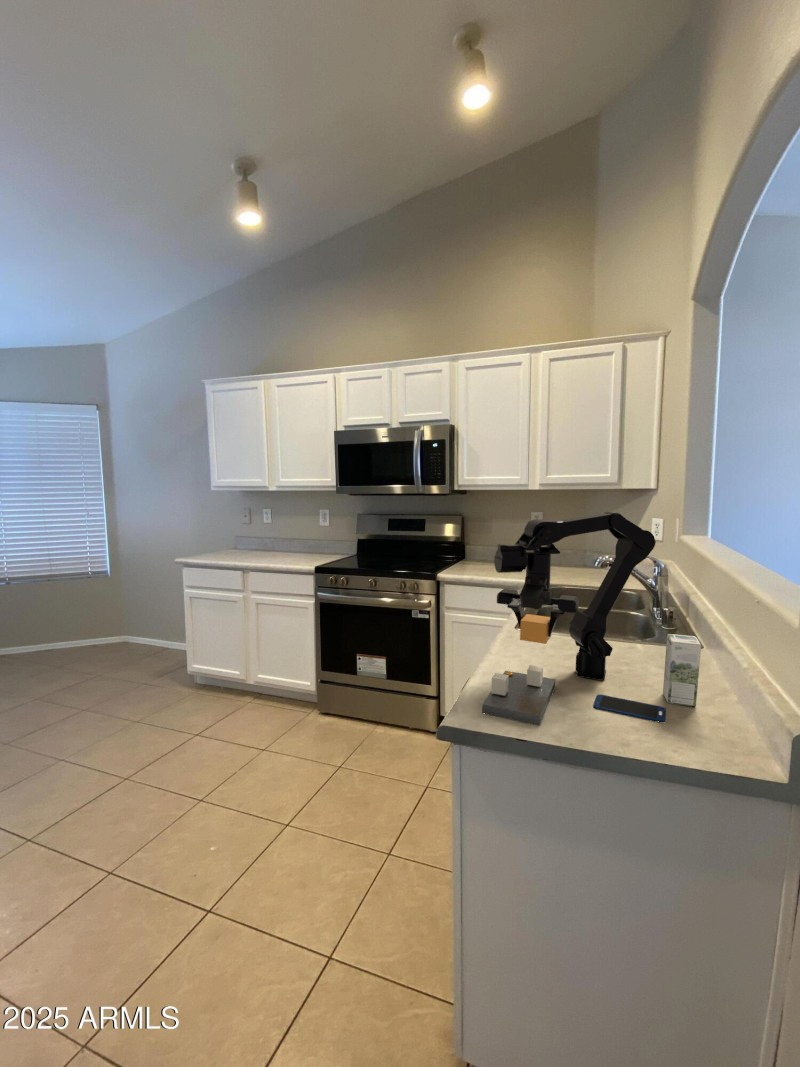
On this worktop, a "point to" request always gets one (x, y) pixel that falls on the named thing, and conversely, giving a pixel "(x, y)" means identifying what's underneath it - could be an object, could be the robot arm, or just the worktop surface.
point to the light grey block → (534, 675)
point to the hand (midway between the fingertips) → (535, 634)
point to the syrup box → (681, 669)
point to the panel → (521, 700)
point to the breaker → (500, 684)
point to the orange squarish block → (535, 628)
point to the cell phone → (630, 708)
